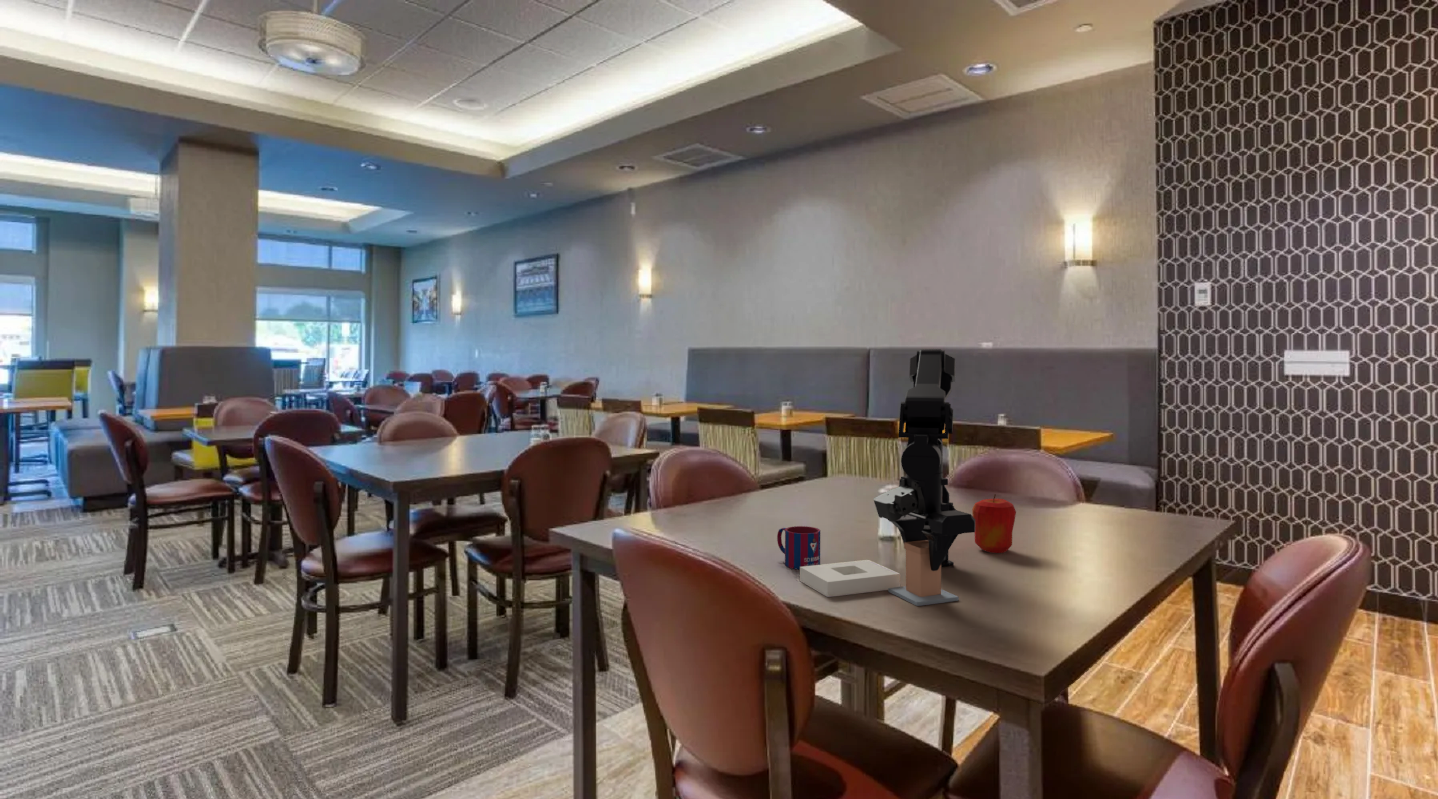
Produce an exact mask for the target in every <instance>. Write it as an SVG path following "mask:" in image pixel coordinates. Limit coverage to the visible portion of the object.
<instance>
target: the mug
mask: <svg viewBox="0 0 1438 799" xmlns="http://www.w3.org/2000/svg"><path fill="white" fill-rule="evenodd" d="M783 532H784V545H783V540H782V535H783ZM776 541H777V545H778V549H779V550H780V551H781V552H782V554H784V565H785V566H786V567H787V568H790V569H795V570H800V567H803V566H812V565H821V529H820V528H818V527H814V526H807V525H804V526H803V525H797V526H796V525H795V526H789V527H781V528H779V529H778V532H777V536H776Z"/></svg>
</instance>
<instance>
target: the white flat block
mask: <svg viewBox="0 0 1438 799" xmlns="http://www.w3.org/2000/svg"><path fill="white" fill-rule="evenodd" d="M799 581H800V582H801V583H803V584H804V585H806V586H808V587H810V588H811V589H813V590H815V591H817V592H818V593H819V594H821V595H823V596H825V597H827V598H831V597H839V596H840V597H841V596H846V595H847V596H848V595H856V594H863V593H864V594H865V593H871V592H872V593H874V592H879V591H880V592H881V591H888V588H895V587H901V573H899V572H897V571H895V570H893V569H890V568H889V567H886V566H883V565H882V564H879V563H877V562H875V561H873V560H870V559H864V560H863V559H861V560H855V561H854V560H852V561H845V562H844V561H842V562H834V563H823V564H820V565H812V566H803V567H800V569H799Z"/></svg>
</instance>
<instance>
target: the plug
mask: <svg viewBox="0 0 1438 799" xmlns="http://www.w3.org/2000/svg"><path fill="white" fill-rule="evenodd" d="M903 548H904V550H905V586H906V590H907V591H909V592H911V593H913V594H915V595H917V596H919V597H925V596H931V595H938V594H941V589H942V566H941V565H940V567H939V569H938V570H937V571H932V570H931V566H930V556H929V541H928V540H921V541H912V542H904V543H903Z"/></svg>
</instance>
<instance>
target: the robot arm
mask: <svg viewBox="0 0 1438 799" xmlns="http://www.w3.org/2000/svg"><path fill="white" fill-rule="evenodd" d="M909 380H910V383H913V387H912V388H909V389H908V390H907V391H906V392H905V398H904V401H901V402H900V408H899V410H900V411H899V422H898V423H899V424H898V439H899V438H901V439H902V438H903V439H905V438H906V439H907V442H906V448H905V449H904V451H903V452H902V454H901V458H900V462H901V467H902V470H903V471H904V473H905V476H900V479H899V482H898V487H896V488H893V489H892V488H891V489H890V490H887V491H885V492H883V493H881V494H879V495H877V496H876V497H874V498H873V502H874V506H875V508H876V512H877V516H878V518H879V519H886V520H888V522H890V523H891V524H893V525H894V527H896V528H897V529H898V531H899V533H900V536H901V537H900V538H901V539H902V543H903V544H904V542H912V541H921V540H928V541H929V556H930V566H931V570H932V571H937V570H938V569H939V567H940V565H941V567H943V566H944V567H945V566H952V565H953V566H954V563H955V561H952V560H949V550H950V549H951V547H952V545H953V544H954V542H955V541H956V539H957V537H958V536H959V535H962V534H970V533H971V534H972V533H975V519H974V517H973V516H972V514H971V513H967V512H964V511H961V510H957V508H955V505H954V502H950V500H951V499H950V496H951V495H950V492H949V490H948V489H947V487H946V486H948V485H949V478H945V477H943V469H944V467H943V463H944V462H943V458H944V457H943V456H944V455H943V454H944V452H943V451H944V444H943V440H949V435H952V434H953V427H954V426H953V425H954V409H953V408H952V407H951V403H950V402H947V401H946V400H948V398H949V397H950V394H951V393H952V384H953V383H956V357H953V356H951V355H948V354H946V350H943V349H941V348H937V349H936V348H935V349H934V348H933V349H932V348H931V349H930V348H929V349H927V348H925V349H923V348H922V349H920V350H916V355H914V356H912V357H910V358H909ZM943 431H944V432H943Z"/></svg>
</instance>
